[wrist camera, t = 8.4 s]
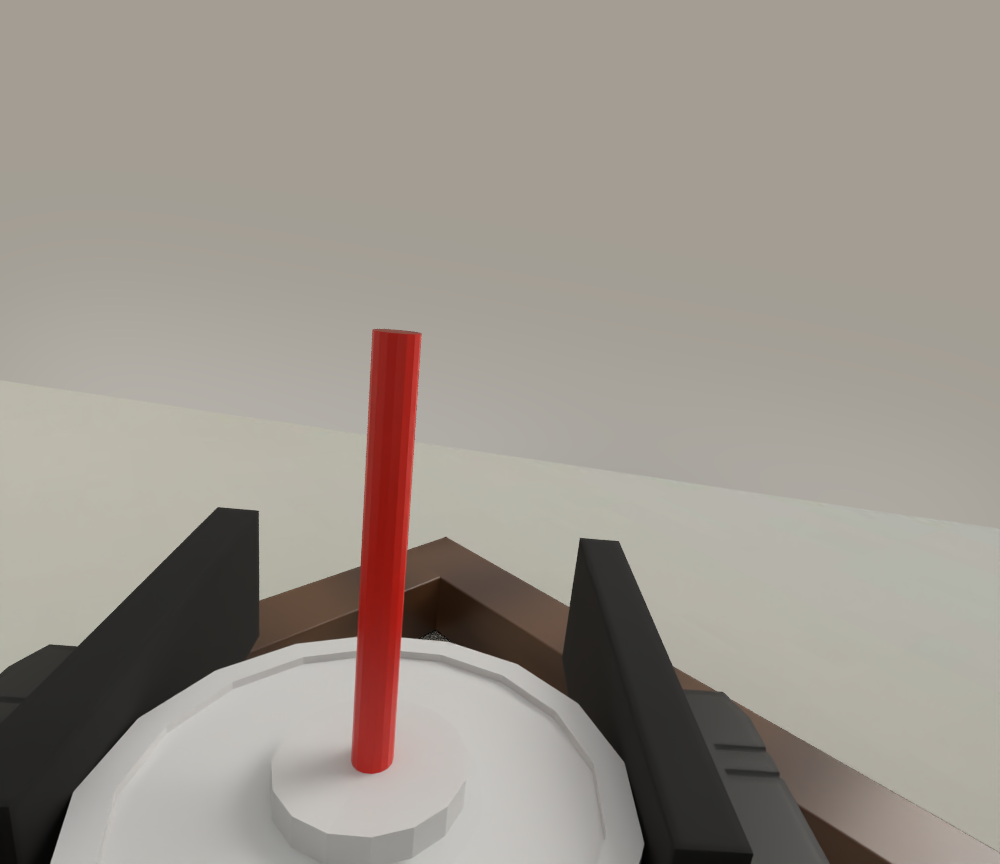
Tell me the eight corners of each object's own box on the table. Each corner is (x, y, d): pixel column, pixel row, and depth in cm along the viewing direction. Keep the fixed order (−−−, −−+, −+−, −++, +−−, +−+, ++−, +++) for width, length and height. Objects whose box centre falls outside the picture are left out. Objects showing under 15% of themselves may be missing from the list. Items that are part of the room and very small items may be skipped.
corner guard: (1052, 1025, 14) (1093, 946, 13) (-346, 949, 13) (-381, 856, 12) (756, 610, 29) (767, 563, 29) (114, 558, 28) (110, 508, 28)
